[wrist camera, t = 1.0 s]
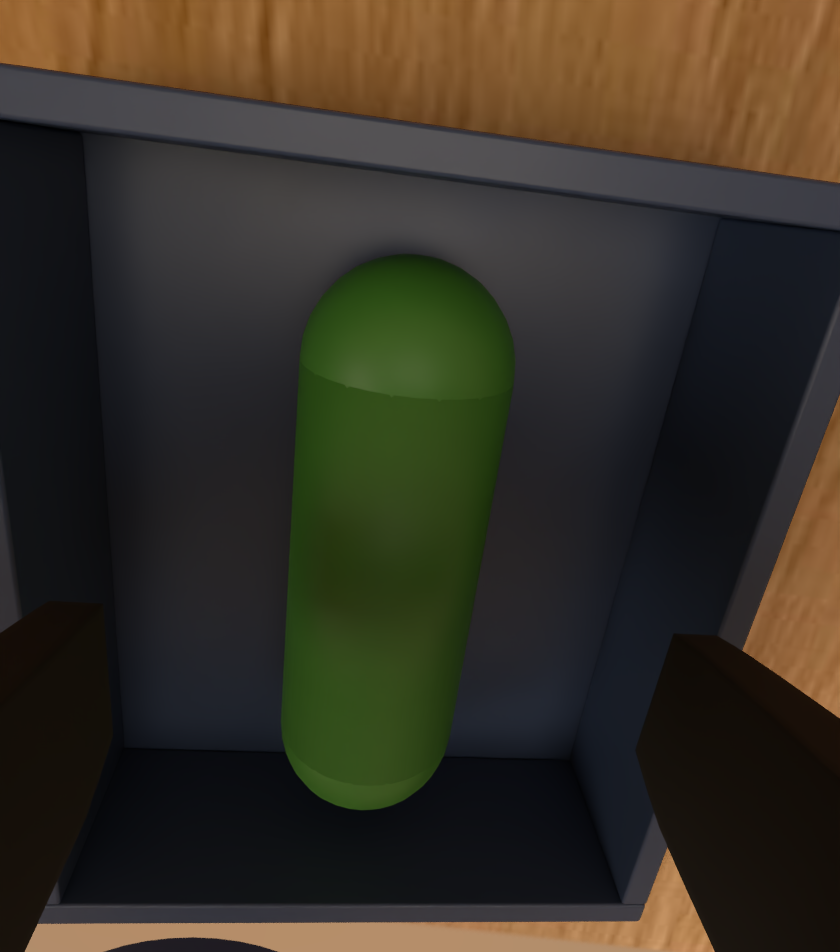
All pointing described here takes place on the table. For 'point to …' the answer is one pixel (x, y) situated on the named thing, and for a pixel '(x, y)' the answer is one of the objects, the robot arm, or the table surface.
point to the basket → (272, 469)
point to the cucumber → (389, 521)
